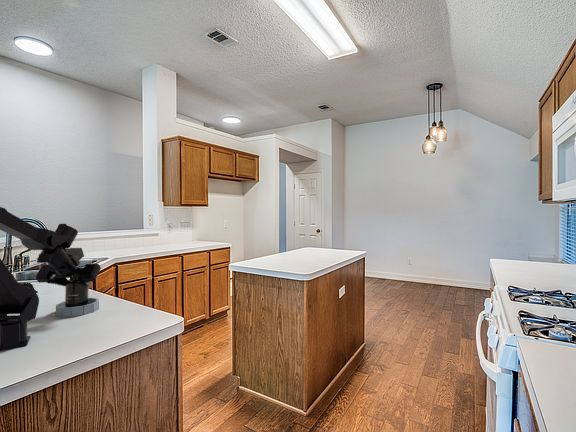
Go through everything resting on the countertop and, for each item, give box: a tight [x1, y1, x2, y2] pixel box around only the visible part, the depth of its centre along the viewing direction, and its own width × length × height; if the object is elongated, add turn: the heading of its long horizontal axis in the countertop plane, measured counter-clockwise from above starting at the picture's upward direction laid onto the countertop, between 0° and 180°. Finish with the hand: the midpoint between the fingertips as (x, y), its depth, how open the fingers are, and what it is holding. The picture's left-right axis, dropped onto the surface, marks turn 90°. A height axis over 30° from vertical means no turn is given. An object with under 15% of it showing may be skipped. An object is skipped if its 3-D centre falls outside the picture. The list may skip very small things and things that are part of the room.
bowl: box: [55, 297, 100, 318], centre depth 111 cm, size 13×13×3 cm
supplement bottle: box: [64, 275, 90, 307], centre depth 111 cm, size 7×7×12 cm
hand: (79, 285), depth 112 cm, fingers closed on supplement bottle, 7 cm apart
